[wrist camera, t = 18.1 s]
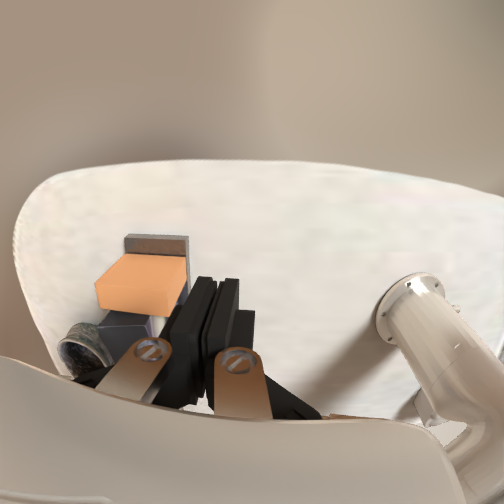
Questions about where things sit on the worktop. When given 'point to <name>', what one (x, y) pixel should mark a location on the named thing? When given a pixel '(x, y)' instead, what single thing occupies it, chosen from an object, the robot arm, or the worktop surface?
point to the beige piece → (427, 411)
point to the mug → (84, 350)
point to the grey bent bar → (162, 251)
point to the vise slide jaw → (142, 284)
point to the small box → (128, 330)
